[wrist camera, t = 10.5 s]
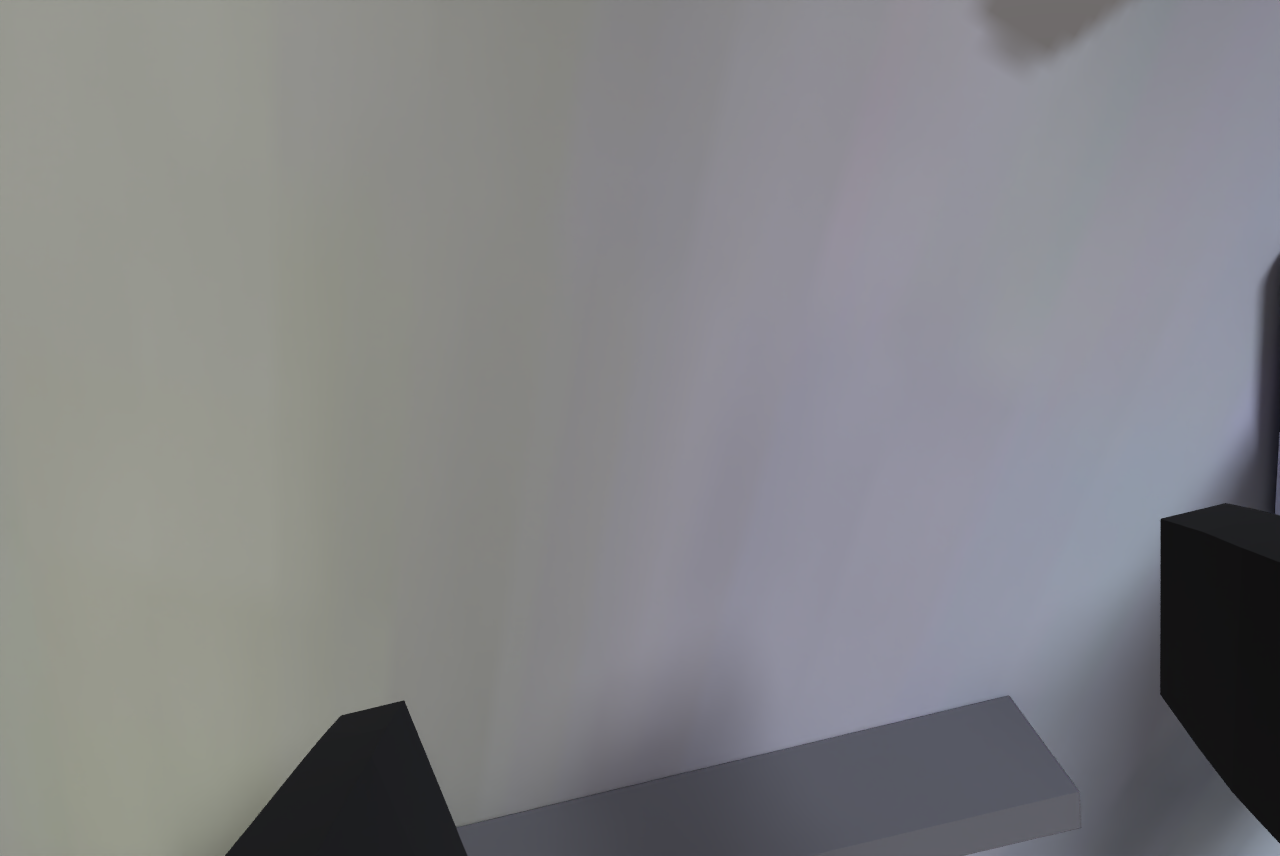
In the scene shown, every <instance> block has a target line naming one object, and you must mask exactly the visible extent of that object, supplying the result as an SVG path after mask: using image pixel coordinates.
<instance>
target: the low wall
mask: <svg viewBox="0 0 1280 856" xmlns="http://www.w3.org/2000/svg"><path fill="white" fill-rule="evenodd" d="M1078 828H1081V814H1080V792H1079V790H1078V789H1077V787H1076V786H1075V785H1074V783H1073V782H1072V781H1071V779H1070V778H1069V776H1068V775H1067V774H1066V772H1065V771H1064V770H1063V768H1062V767H1061V766H1060V764H1059V763H1058V761H1057V760H1056V759H1055V757H1054V756H1053V755H1052V753H1051V752H1050V751H1049V749H1048V748H1047V746H1046V745H1045V744H1044V742H1043V741H1042V740H1041V738H1040V737H1039V735H1038V734H1037V733H1036V731H1035V730H1034V729H1033V727H1032V726H1031V725H1030V723H1029V722H1028V720H1027V719H1026V718H1025V716H1024V715H1023V714H1022V712H1021V711H1020V710H1019V708H1018V707H1017V705H1016V704H1015V703H1014V701H1013V700H1012V699H1011V697H1010V696H1006V697H1001V698H997V699H993V700H989V701H985V702H980V703H976V704H972V705H968V706H964V707H960V708H955V709H951V710H947V711H943V712H939V713H934V714H930V715H926V716H922V717H918V718H914V719H909V720H905V721H901V722H897V723H893V724H888V725H884V726H880V727H876V728H872V729H868V730H863V731H859V732H855V733H851V734H847V735H842V736H838V737H834V738H830V739H826V740H821V741H817V742H813V743H809V744H805V745H801V746H796V747H792V748H788V749H784V750H780V751H775V752H771V753H767V754H763V755H759V756H755V757H750V758H746V759H742V760H738V761H734V762H729V763H725V764H721V765H717V766H713V767H709V768H704V769H700V770H696V771H692V772H688V773H683V774H679V775H675V776H671V777H667V778H662V779H658V780H654V781H650V782H646V783H642V784H637V785H633V786H629V787H625V788H621V789H616V790H612V791H608V792H604V793H600V794H596V795H591V796H587V797H583V798H579V799H575V800H570V801H566V802H562V803H558V804H554V805H550V806H545V807H541V808H537V809H533V810H529V811H524V812H520V813H516V814H512V815H508V816H504V817H499V818H495V819H491V820H487V821H483V822H478V823H474V824H470V825H466V826H462V827H457V828H456V829H457V831H458V834H459V836H460V839H461V841H462V843H463V846H464V848H465V851H466V853H467V856H964V855H968V854H973V853H977V852H981V851H985V850H989V849H994V848H998V847H1002V846H1006V845H1010V844H1015V843H1019V842H1023V841H1027V840H1032V839H1036V838H1040V837H1044V836H1048V835H1053V834H1057V833H1061V832H1065V831H1069V830H1074V829H1078Z"/></svg>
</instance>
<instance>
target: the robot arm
mask: <svg viewBox="0 0 1280 856" xmlns="http://www.w3.org/2000/svg"><path fill="white" fill-rule="evenodd" d="M1160 695H1161V696H1162V697H1163V699H1164V700H1165V702H1166V703H1167V704H1168V706H1169V707H1170V709H1171V710H1172V711H1173V713H1174V714H1175V716H1176V717H1177V718H1178V720H1179V721H1180V723H1181V724H1182V725H1183V727H1184V728H1185V730H1186V731H1187V732H1188V734H1189V735H1190V737H1191V738H1192V739H1193V741H1194V742H1195V744H1196V745H1197V746H1198V748H1199V749H1200V750H1201V752H1202V753H1203V754H1204V756H1205V757H1206V758H1207V760H1208V761H1209V762H1210V763H1211V765H1212V766H1213V767H1214V769H1215V770H1216V771H1217V773H1218V774H1219V775H1220V777H1221V778H1222V779H1223V780H1224V782H1225V783H1226V784H1227V786H1228V787H1229V788H1230V790H1231V791H1232V792H1233V793H1234V794H1235V795H1236V797H1237V798H1238V799H1239V800H1240V801H1241V802H1242V803H1243V804H1244V805H1245V806H1246V808H1247V809H1248V810H1249V811H1250V812H1251V813H1252V814H1253V815H1254V816H1255V817H1256V818H1257V820H1258V821H1259V822H1260V823H1261V824H1262V825H1263V826H1264V827H1265V828H1266V829H1267V830H1268V831H1269V832H1270V834H1271V835H1272V836H1273V837H1274V838H1275V839H1276V840H1277V841H1278V842H1279V843H1280V434H1279V452H1278V469H1277V486H1276V504H1275V514H1272V513H1268V512H1264V511H1259V510H1255V509H1251V508H1246V507H1241V506H1236V505H1231V504H1226V503H1225V504H1220V505H1216V506H1212V507H1208V508H1204V509H1200V510H1195V511H1191V512H1187V513H1183V514H1179V515H1175V516H1171V517H1166V518H1162V519H1161V634H1160ZM225 856H467V853H466V851H465V848H464V846H463V843H462V841H461V839H460V836H459V834H458V831H457V829H456V826H455V824H454V821H453V819H452V816H451V814H450V812H449V809H448V807H447V804H446V802H445V799H444V797H443V794H442V792H441V790H440V787H439V785H438V782H437V780H436V777H435V775H434V772H433V770H432V768H431V765H430V763H429V760H428V758H427V755H426V753H425V750H424V748H423V745H422V743H421V741H420V738H419V736H418V733H417V731H416V728H415V726H414V723H413V721H412V719H411V716H410V714H409V711H408V709H407V706H406V704H405V701H400V702H396V703H392V704H387V705H383V706H379V707H375V708H371V709H367V710H362V711H358V712H354V713H350V714H346V715H342V716H340V717H339V718H338V719H337V721H336V722H335V723H334V724H333V725H332V726H331V727H330V728H329V729H328V731H327V732H326V733H325V734H324V735H323V736H322V737H321V739H320V740H319V741H318V742H317V743H316V745H315V746H314V747H313V748H312V749H311V751H310V752H309V753H308V754H307V755H306V757H305V758H304V759H303V760H302V762H301V763H300V764H299V765H298V766H297V768H296V769H295V770H294V771H293V773H292V774H291V775H290V776H289V778H288V779H287V780H286V781H285V782H284V784H283V785H282V786H281V787H280V789H279V790H278V791H277V792H276V794H275V795H274V796H273V797H272V799H271V800H270V801H269V802H268V804H267V805H266V806H265V807H264V809H263V810H262V811H261V812H260V814H259V815H258V816H257V817H256V818H255V820H254V821H253V822H252V823H251V825H250V826H249V827H248V828H247V830H246V831H245V832H244V833H243V834H242V836H241V837H240V838H239V839H238V841H237V842H236V843H235V844H234V845H233V847H232V848H231V849H230V850H229V851H228V853H227V854H226V855H225Z"/></svg>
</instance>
